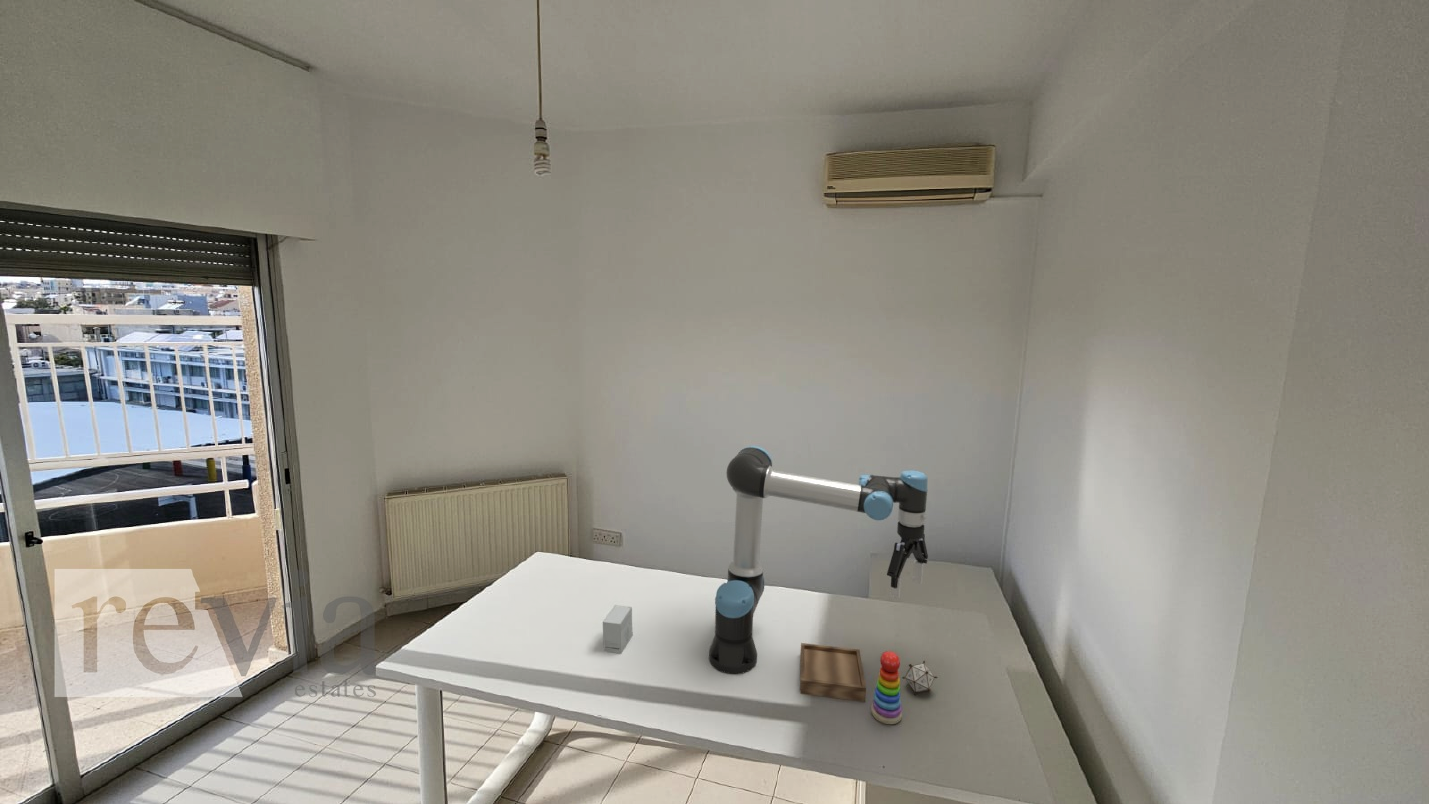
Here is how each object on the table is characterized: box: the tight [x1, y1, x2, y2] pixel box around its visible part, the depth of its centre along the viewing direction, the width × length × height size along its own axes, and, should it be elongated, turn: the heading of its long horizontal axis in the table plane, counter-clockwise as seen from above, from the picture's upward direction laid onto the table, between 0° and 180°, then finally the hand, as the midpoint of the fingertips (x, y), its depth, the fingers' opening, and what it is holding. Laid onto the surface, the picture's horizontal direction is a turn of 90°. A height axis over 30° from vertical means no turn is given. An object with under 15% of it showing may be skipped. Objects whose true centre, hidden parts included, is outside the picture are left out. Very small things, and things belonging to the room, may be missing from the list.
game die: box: [901, 659, 938, 696], centre depth 156 cm, size 9×8×10 cm
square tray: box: [799, 642, 867, 703], centre depth 161 cm, size 18×18×4 cm
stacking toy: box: [870, 650, 903, 725], centre depth 145 cm, size 8×8×19 cm
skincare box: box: [602, 604, 634, 655], centre depth 175 cm, size 10×6×10 cm, turn 168°
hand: (906, 589), depth 164 cm, fingers open, 13 cm apart
